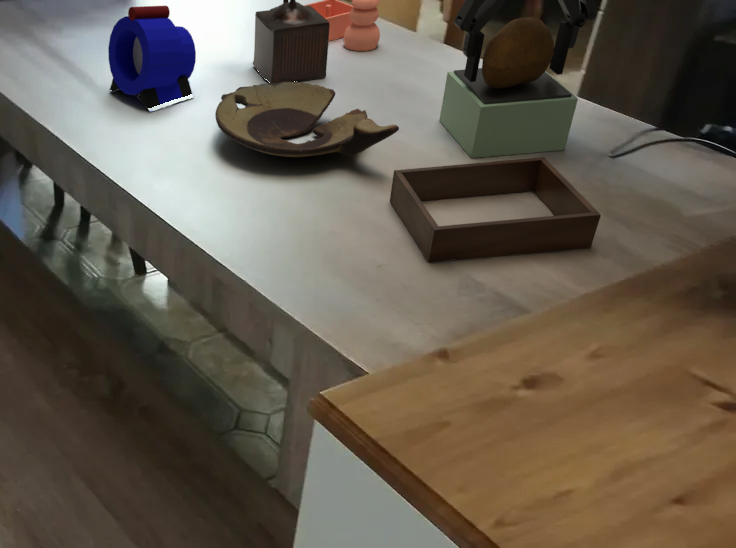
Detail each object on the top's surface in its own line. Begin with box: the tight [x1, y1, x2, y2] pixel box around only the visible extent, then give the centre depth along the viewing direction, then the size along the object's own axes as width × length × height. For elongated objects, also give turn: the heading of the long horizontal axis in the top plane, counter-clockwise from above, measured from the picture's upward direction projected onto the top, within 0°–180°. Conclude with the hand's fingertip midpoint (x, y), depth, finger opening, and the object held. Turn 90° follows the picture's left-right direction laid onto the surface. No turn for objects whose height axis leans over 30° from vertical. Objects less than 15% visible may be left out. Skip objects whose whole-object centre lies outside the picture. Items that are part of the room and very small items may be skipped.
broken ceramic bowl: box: [214, 81, 400, 158], centre depth 138 cm, size 22×30×8 cm
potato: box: [481, 16, 555, 89], centre depth 132 cm, size 8×12×9 cm
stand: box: [438, 67, 579, 159], centre depth 138 cm, size 14×14×8 cm
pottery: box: [302, 0, 381, 52], centre depth 173 cm, size 18×10×10 cm, turn 30°
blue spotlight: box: [107, 5, 197, 109], centre depth 155 cm, size 12×12×15 cm
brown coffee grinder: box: [252, 0, 330, 83], centre depth 159 cm, size 16×11×18 cm
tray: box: [389, 156, 602, 263], centre depth 120 cm, size 17×21×4 cm
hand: (512, 75), depth 135 cm, fingers open, 12 cm apart
